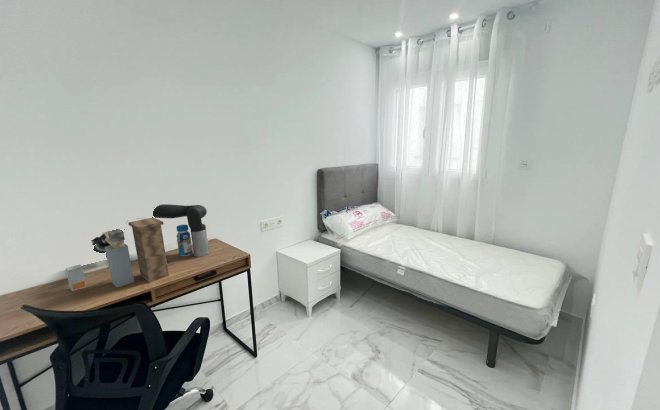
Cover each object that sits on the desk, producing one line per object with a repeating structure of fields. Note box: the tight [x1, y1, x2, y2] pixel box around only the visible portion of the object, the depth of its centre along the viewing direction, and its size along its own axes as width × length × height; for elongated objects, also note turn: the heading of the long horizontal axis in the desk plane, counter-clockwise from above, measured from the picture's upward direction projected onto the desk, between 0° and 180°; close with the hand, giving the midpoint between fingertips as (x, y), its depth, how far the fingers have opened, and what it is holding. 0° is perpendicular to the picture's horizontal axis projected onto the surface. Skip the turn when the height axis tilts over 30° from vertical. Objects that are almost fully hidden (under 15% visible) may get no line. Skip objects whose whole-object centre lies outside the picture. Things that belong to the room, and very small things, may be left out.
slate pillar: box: [105, 243, 135, 288], centre depth 152 cm, size 8×8×21 cm
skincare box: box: [64, 264, 87, 292], centre depth 147 cm, size 6×4×12 cm
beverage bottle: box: [176, 224, 194, 257], centre depth 188 cm, size 8×8×20 cm
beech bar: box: [101, 229, 126, 249], centre depth 150 cm, size 5×20×8 cm, turn 52°
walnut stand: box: [127, 217, 170, 283], centre depth 157 cm, size 12×14×32 cm
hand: (110, 234), depth 152 cm, fingers open, 4 cm apart
